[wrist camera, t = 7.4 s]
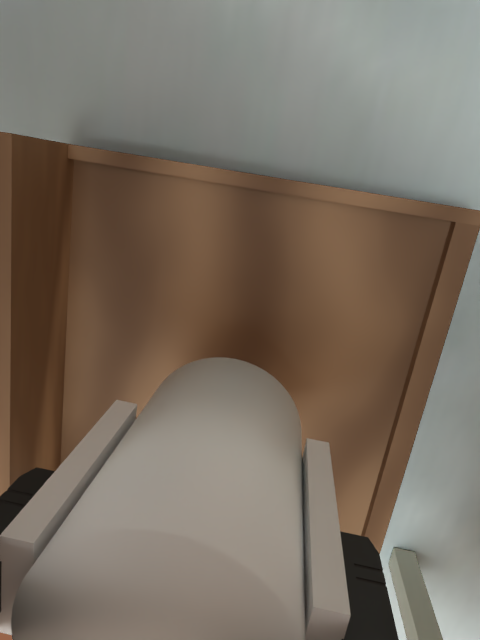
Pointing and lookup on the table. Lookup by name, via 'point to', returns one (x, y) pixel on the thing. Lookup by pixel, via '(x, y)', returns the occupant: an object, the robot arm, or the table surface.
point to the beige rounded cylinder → (184, 522)
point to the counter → (413, 597)
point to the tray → (220, 303)
